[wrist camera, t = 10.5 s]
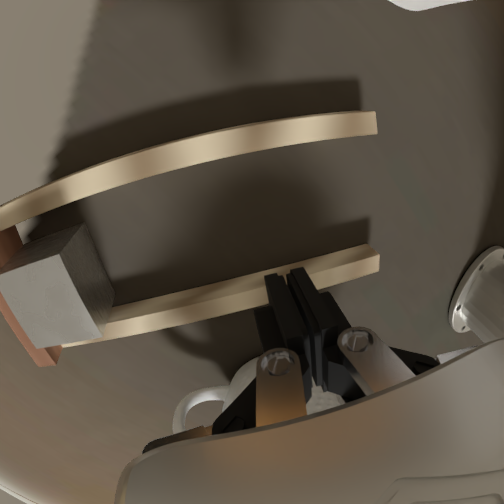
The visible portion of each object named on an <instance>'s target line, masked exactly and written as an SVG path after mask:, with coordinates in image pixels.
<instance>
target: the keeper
mask: <svg viewBox="0 0 504 504" xmlns="http://www.w3.org/2000/svg"><path fill="white" fill-rule="evenodd" d="M0 292H1V293H2V295H3V297H4V299H5V301H6V302H7V304H8V306H9V307H10V309H11V311H12V312H13V314H14V316H15V317H16V319H17V321H18V322H19V324H20V325H21V327H22V328H23V330H24V331H25V333H26V334H27V336H28V337H29V339H30V340H31V342H32V343H33V345H34V346H35V347H36V349H39V348H45V347H51V346H57V345H63V344H68V343H74V342H79V341H85V340H90V339H96V338H101V337H103V335H104V331H105V328H106V324H107V321H108V318H109V314H110V311H111V308H112V305H113V302H114V298H115V295H116V293H115V291H114V289H113V287H112V285H111V283H110V281H109V278H108V276H107V274H106V272H105V270H104V267H103V265H102V263H101V260H100V258H99V256H98V253H97V251H96V249H95V246H94V244H93V241H92V239H91V236H90V234H89V231H88V229H87V226H86V223H85V222H84V223H81V224H78V225H75V226H72V227H69V228H67V229H64V230H61V231H58V232H55V233H53V234H50V235H47V236H45V237H42V238H39V239H37V240H34V241H32V242H29V243H27V244H24V245H23V246H22V247H21V248H20V249H19V250H18V251H17V252H16V253H15V254H14V255H13V256H12V257H11V258H10V259H9V260H8V261H7V262H6V263H5V265H4V266H3V267H2V268H1V269H0Z"/></svg>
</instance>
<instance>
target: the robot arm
mask: <svg viewBox="0 0 504 504" xmlns="http://www.w3.org/2000/svg"><path fill="white" fill-rule="evenodd" d="M286 279H287V283H286V281H285V279H284V277H283V275H280V276H278V274H277V273H273V274H269V275H264V280H265V285H266V290H267V296H268V301H269V306H267V307H263V308H258V309H254V315H255V319H256V323H257V328H258V332H259V336H260V341H261V345H262V349H263V354H262V355H261V356H260V357H259V359H258V360H257V364H256V377H255V378H254V379H253V380H252V381H251V383H250V384H249V385H248V386H247V387H246V388H245V389H244V390H243V391H242V392H241V393H240V395H239V396H238V397H237V398H236V399H235V400H234V401H233V402H232V403H231V404H230V405H229V406H228V407H227V408H226V409H225V410H224V412H223V413H222V414H221V415H220V416H219V417H218V418H217V419H216V420H215V422H214V423H213V425H210V426H207V427H204V426H203V425H202V426H199V427H196V428H193V429H189V430H186V431H183V432H180V433H177V434H173V435H170V436H166V437H163V438H159V439H156V440H153V441H151V442H149V443H148V444H147V445H146V446H145V447H144V449H143V451H142V455H140V456H138V457H137V458H135V459H133V460H132V461H131V462H130V463H128V464H127V466H126V467H125V468H124V470H123V471H122V473H121V476H120V478H119V481H118V485H117V489H116V494H115V501H114V504H504V248H503V247H501V246H493V247H491V248H489V249H487V250H486V251H484V252H483V253H482V254H481V255H480V256H479V257H478V258H477V259H476V260H475V261H474V262H473V263H472V265H471V266H470V267H469V269H468V270H467V272H466V273H465V275H464V276H463V278H462V280H461V281H460V283H459V285H458V287H457V289H456V291H455V293H454V296H453V298H452V301H451V305H450V309H449V323H450V325H451V327H452V328H453V329H454V330H455V331H457V332H460V333H461V332H466V331H469V330H472V331H473V332H474V333H475V334H476V335H477V336H478V337H479V338H480V339H481V340H482V341H483V342H484V344H482V345H478V346H472V347H468V348H465V349H461V350H457V351H453V352H449V353H445V354H441V355H437V357H436V359H434V358H432V357H429V356H426V355H422V354H418V353H413V352H409V351H405V350H401V349H397V348H393V347H389V346H387V345H386V344H385V343H384V342H383V341H382V340H381V339H380V338H379V337H378V336H377V335H376V333H375V332H373V331H372V330H371V329H368V328H365V327H351V325H350V324H349V322H348V321H347V319H346V317H345V316H344V314H343V313H342V311H341V309H340V308H339V306H338V305H337V303H336V302H335V300H334V298H333V297H332V295H331V294H330V293H329V292H328V291H327V292H324V293H320V294H319V292H318V290H317V289H316V287H315V285H314V284H313V282H312V280H311V279H310V277H309V275H308V274H307V272H306V270H305V269H304V267H299V268H294V269H290V273H288V274H286ZM312 377H313V380H314V382H315V385H316V386H321V387H322V390H323V392H327V391H328V392H331V393H334V394H336V397H337V400H338V402H339V403H340V405H339V406H336V407H333V408H330V409H326V410H323V411H320V412H316V413H313V414H309V415H307V410H306V404H307V403H308V401H309V400H310V398H311V397H312V389H311V388H313V383H312Z"/></svg>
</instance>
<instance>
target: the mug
mask: <svg viewBox="0 0 504 504" xmlns="http://www.w3.org/2000/svg"><path fill="white" fill-rule="evenodd" d="M259 357H260V356H259ZM259 357H256V358H254V359H252V360H250V361H249V362H247V363H246V364H244V365H243V366H242V367H241V368H240V369H239V370H238V371H237V372H236V374H235V376H234V377H233V379H232V381H231V383H230V385H229V386H215V387H208V388H203V389H199V390H196V391H194V392H191V393H190V394H188V395H187V396H185V397H184V398H183V399H182V400H181V402H180V403H179V405H178V406H177V408H176V410H175V413H174V417H173V434H177V433H180V432H183V431H186V430H185V417H186V414H187V412H188V410H189V409H190V408H191V407H193V406H194V405H196V404H198V403H200V402H203V401H207V400H223V401H224V405H223V409H222V411H223V412H224V410H225V409H226V408H227V407H228V406H229V405H230V404H231V403H232V402H233V401H234V400H235V399H236V398H237V397H238V396H239V395H240V393H241V392H242V391H243V390H244V389H245V388H246V387H247V386H248V385H249V384H250V383H251V381H252V380H253V379H254V378H255V377H256V364H257V360H258V359H259ZM312 383H313V388H311V389H312V397H311V398H310V400H309V401H308V403H307V404H306V410H307V415H309V414H313V413H316V412H320V411H323V410H326V409H330V408H333V407H336V406H339V405H340V403H339V402H338V400H337V397H336V394H334V393H331V392H328V391H327V392H323V390H322V387H321V386H316V385H315V382H314V380H313V377H312Z"/></svg>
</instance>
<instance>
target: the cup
mask: <svg viewBox="0 0 504 504" xmlns="http://www.w3.org/2000/svg"><path fill="white" fill-rule="evenodd" d="M389 1H390V2H392V3H394V4H395V5H397V6H399V7H402V8H404V9H407V10H412V11H421V10H425V9H429V8H434V7H438V6H443V5H447V4H452V3H458V2H463V1H470V0H389Z"/></svg>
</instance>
